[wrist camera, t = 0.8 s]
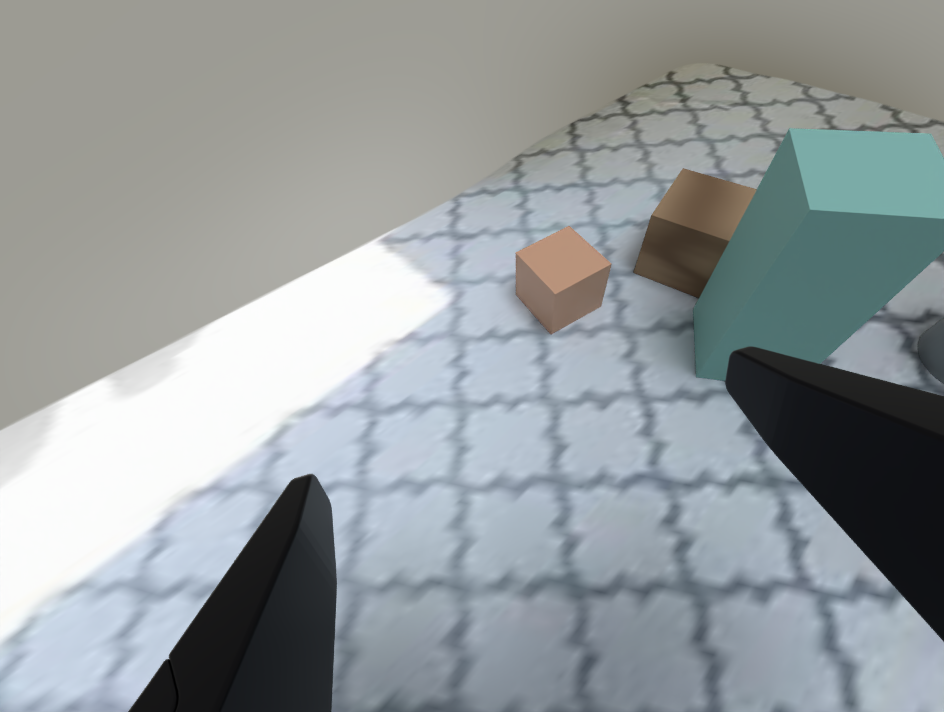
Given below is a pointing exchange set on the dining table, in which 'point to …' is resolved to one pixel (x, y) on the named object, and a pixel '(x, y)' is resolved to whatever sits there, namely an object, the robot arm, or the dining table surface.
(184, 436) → the dining table surface
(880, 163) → the teal block
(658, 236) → the walnut cube
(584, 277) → the terracotta cube
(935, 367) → the slate cylinder
